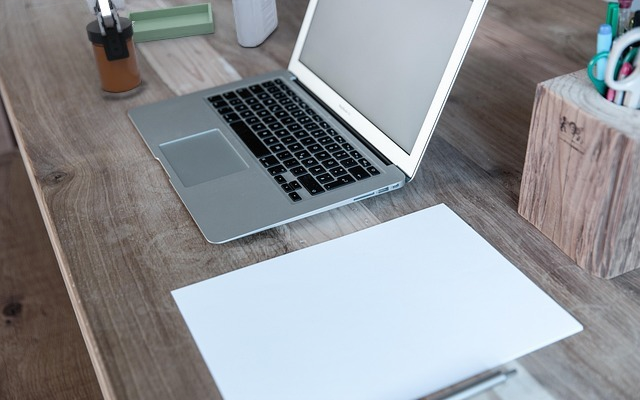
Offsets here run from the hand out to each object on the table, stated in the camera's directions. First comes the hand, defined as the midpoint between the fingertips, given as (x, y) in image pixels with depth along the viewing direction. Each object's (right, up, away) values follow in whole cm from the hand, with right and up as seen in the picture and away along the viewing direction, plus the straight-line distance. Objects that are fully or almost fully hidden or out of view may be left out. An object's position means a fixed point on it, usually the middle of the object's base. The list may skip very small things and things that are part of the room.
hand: (116, 48), depth 105 cm
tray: (+4, +8, +21) cm, 23 cm away
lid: (0, +3, -2) cm, 3 cm away
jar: (0, -5, +3) cm, 6 cm away
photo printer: (+20, +5, +15) cm, 25 cm away
